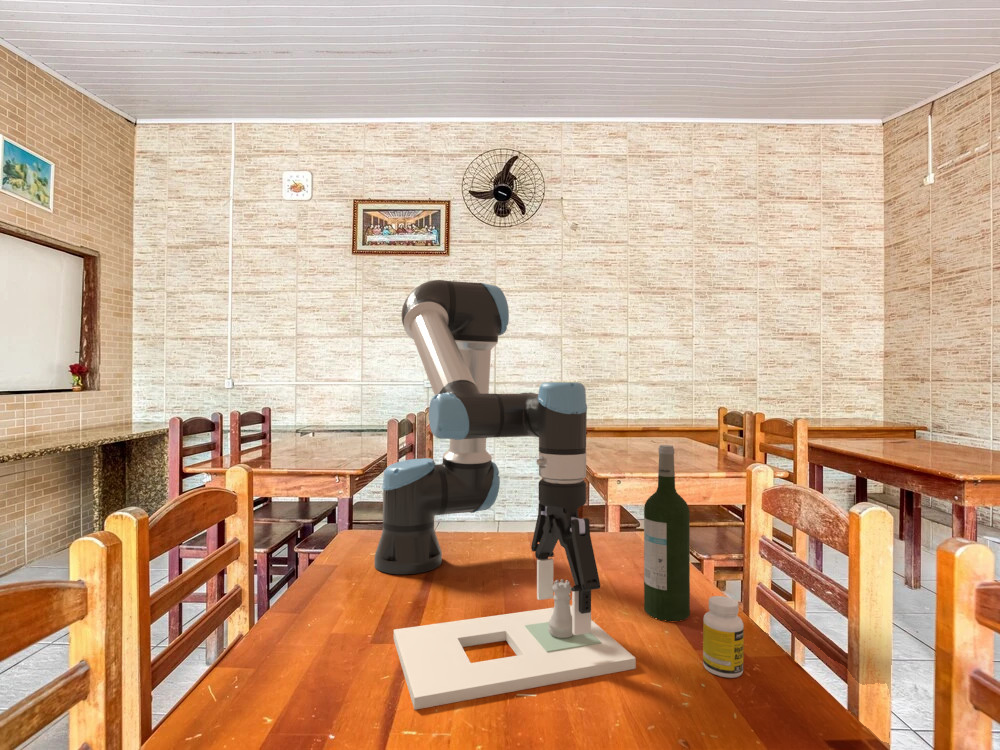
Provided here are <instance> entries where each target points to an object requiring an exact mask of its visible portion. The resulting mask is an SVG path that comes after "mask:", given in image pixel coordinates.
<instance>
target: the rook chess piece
mask: <svg viewBox="0 0 1000 750" xmlns="http://www.w3.org/2000/svg"><path fill="white" fill-rule="evenodd" d="M572 587H573V586H572V585H571V582H570V581H569V580H568V579H566V580H565V581H564V579H562V578H561V579H560V581H559V579H556V580H555V581H554V580H553V586H552V590H553V598H552V599H553V600H554V601H553V603H554V605H553V608H554V611H553V615H552V616H551V619H550V620H549V624H548V625H549V626H550V627H549V628H548V631H549V633H550V634H551V635H552V636H553V637H556V638H560V639H567V638H571V637H572V636H573V635H574V634H573V633H572V615H571V611H570V605H571V604H570V603H571V602H570V601H572V596H570V594H571V593H572V590H571V588H572Z"/></svg>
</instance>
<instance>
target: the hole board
mask: <svg viewBox="0 0 1000 750" xmlns="http://www.w3.org/2000/svg"><path fill="white" fill-rule="evenodd" d="M553 611H554V607H548V608H541V609H536V610H535V609H533V610H526V611H518V612H512V613H506V614H503V613H502V614H498V615H497V614H496V615H490V616H484V617H481V616H480V617H475V618H469V619H468V618H467V619H460V620H454V621H447V622H438V623H432V624H431V623H430V624H425V625H418V626H410V627H409V626H408V627H403V628H396V629H393V642H394V645H395V648H396V653H397V654H398V658H399V662H400V665H401V668H402V672H403V676H404V680H405V683H406V685H407V690H408V693H409V696H410V699H411V703H412V707H413V709H414V711H417V710H420V709H426V708H431V707H435V706H436V707H437V706H443V705H447V704H448V705H449V704H452V703H457V702H458V703H460V702H464V701H468V700H469V701H470V700H474V699H475V700H476V699H479V698H484V697H491V696H495V695H500V694H506V693H511V692H518V691H523V690H528V689H533V688H534V689H535V688H538V687H543V686H544V687H545V686H549V685H554V684H555V685H556V684H560V683H566V682H571V681H576V680H581V679H582V680H583V679H586V678H593V677H598V676H603V675H604V676H605V675H608V674H615V673H618V672H625V671H629V670H630V671H631V670H635V669H637V666H636V664H637V661H636V660H637V659H636V657H635V656H634V655H632V653H631V652H629V651H628V650H627V649H626V648H625V647H623V645H621V643H619V642H618V641H616V640H615V639H614V638H613V637H612V636H611V635H609V634H608V632H606V631H605V630H604V629H602V627H601V626H599V625H598V624H597V623H596V622H595V621H594V620H592V619H591V633H585V634H579V635H573V636H572V637H571V638H567V639H560V638H556V637H553V636H552V635H551V634H550V633H549V631H548V628H549V627H550V626H549V625H548V624H549V620H550V619H551V616H552V615H553ZM570 611H571V615H572V604H570ZM504 641H506V643H507V644H508V645H509V647H510V648H511V649H512V650H513V652H514V654H515V655H512V656H506V657H501V658H500V657H499V658H494V659H488V660H483V661H481V660H480V661H476V662H471V661H470V659H469V657H468V656H467V655H468V654H466V651H465V650H464V648H465V647H472V646H477V645H485V644H491V643H497V642H504Z"/></svg>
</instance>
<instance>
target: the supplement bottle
mask: <svg viewBox="0 0 1000 750" xmlns="http://www.w3.org/2000/svg"><path fill="white" fill-rule="evenodd" d="M708 610H709V611H706V612H705V614H704V615H703V625H702V627H703V633H702V634H703V635H702V637H703V638H702V639H703V640H702V664H703V667H704V668H705V669H706V671H708V672H709V673H711V674H713V675H715V676H718V677H721V678H728V679H732V678H733V679H734V678H739V677H740V676H742V675H743V672H744V649H745V648H744V647H745V645H744V635H745V634H744V633H745V631H744V628H745V627H744V622H743V619H742V618H741V617H740V616H738V614H739V611H740V610H739V602H738V601H737V600H736V599H734V598H732V597H728V596H722V595H714V596H713V595H712V596H710V597H709V598H708Z"/></svg>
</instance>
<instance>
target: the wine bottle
mask: <svg viewBox="0 0 1000 750" xmlns="http://www.w3.org/2000/svg"><path fill="white" fill-rule="evenodd" d="M674 455H675V448H674V445H668V444H662V445H661V444H660V445H659V447H658V473H657V474H658V475H657V488H656V491H655V492H654V493H653V494H652V495H650V496H649V497H648V499H646V500H645V501H646V502H645V503H644V508H643V539H644V540H643V545H644V546H643V564H644V565H643V568H644V569H643V573H644V574H643V575H644V576H643V577H644V578H643V586H644V587H643V593H644V594H643V597H644V598H643V601H644V602H643V603H644V604H643V608H644V612H645V613H646V615H647V616H649V615H650V616H649V617H651V616H652V617H651V618H653V617H654V618H653V619H655V618H657V619H656V620H658V619H660V620H659V621H662V620H666V621H665V622H668V621H678V622H681V621H680V620H683V621H685V620H687V619H688V618H689V617H690V615H691V595H690V594H691V588H690V585H691V584H690V583H691V581H690V580H691V579H690V577H691V573H690V572H691V571H690V570H691V569H690V567H691V563H690V562H691V561H690V560H691V559H690V558H691V557H690V556H691V553H690V552H691V551H690V549H691V548H690V547H691V546H690V543H691V541H690V540H691V539H690V536H691V534H690V533H691V529H690V528H691V527H690V518H691V517H690V515H691V513H690V508H689V505H688V503H687V501H686V500H685V499H684V498H683V497H682V496H681V495H680V494H679V493H678V492H677V489H676V480H675V479H676V478H675V474H676V473H675V456H674ZM686 618H687V619H686ZM684 619H685V620H684Z"/></svg>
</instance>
